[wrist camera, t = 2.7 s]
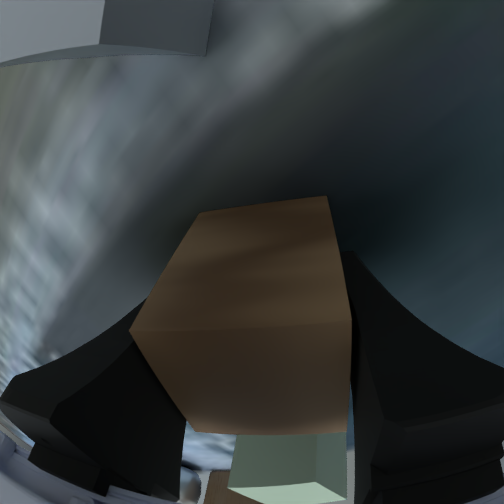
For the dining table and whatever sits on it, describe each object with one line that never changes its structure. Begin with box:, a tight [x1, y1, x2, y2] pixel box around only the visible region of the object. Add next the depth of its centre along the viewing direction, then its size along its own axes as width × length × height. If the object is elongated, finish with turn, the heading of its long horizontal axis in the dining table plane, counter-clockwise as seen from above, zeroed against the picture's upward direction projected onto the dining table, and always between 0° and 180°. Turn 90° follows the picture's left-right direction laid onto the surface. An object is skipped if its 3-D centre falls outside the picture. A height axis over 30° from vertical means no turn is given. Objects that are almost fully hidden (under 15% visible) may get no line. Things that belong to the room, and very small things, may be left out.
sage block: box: [227, 432, 347, 504], centre depth 15 cm, size 4×4×6 cm
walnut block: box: [129, 195, 352, 435], centre depth 9 cm, size 4×4×6 cm
